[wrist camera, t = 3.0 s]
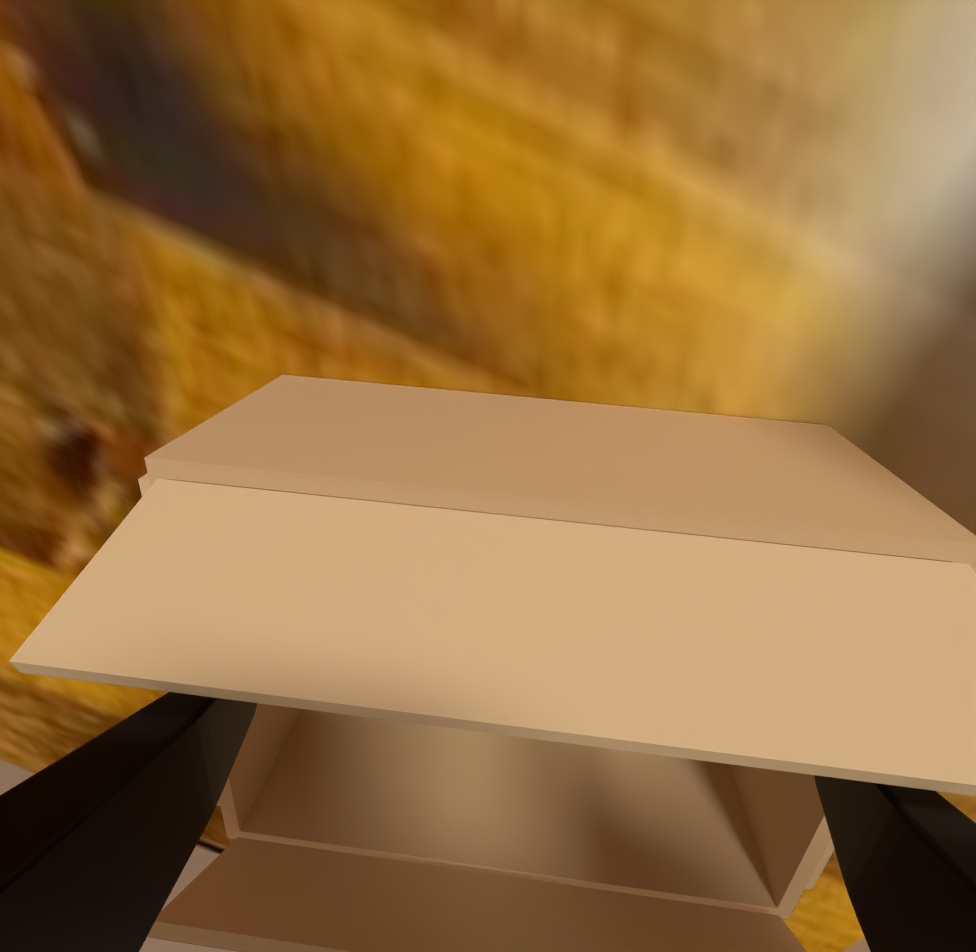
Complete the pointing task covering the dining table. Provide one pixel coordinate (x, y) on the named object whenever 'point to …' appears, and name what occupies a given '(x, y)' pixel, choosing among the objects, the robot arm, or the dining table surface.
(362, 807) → the carton
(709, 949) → the flap camera side
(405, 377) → the dining table surface
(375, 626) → the tan cardboard box flap
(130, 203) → the dining table surface
